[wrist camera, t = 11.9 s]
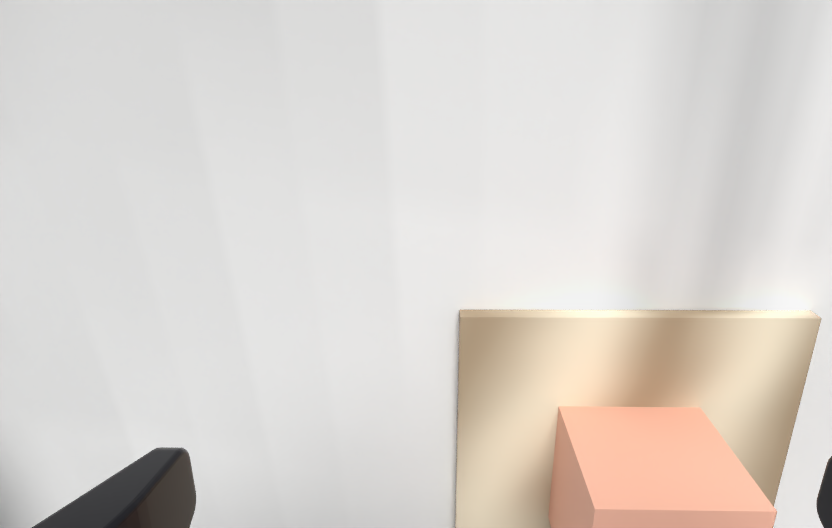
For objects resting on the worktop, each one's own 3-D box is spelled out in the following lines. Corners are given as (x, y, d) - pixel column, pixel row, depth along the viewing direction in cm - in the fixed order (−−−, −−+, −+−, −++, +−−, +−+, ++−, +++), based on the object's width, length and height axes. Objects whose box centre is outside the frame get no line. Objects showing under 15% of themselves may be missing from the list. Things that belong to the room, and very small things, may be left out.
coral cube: (700, 407, 21) (777, 511, 16) (679, 518, 23) (743, 640, 18) (558, 406, 21) (595, 508, 17) (548, 516, 23) (578, 638, 18)
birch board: (810, 310, 20) (821, 318, 20) (745, 575, 25) (752, 587, 24) (459, 309, 21) (460, 317, 20) (454, 571, 25) (454, 583, 24)
